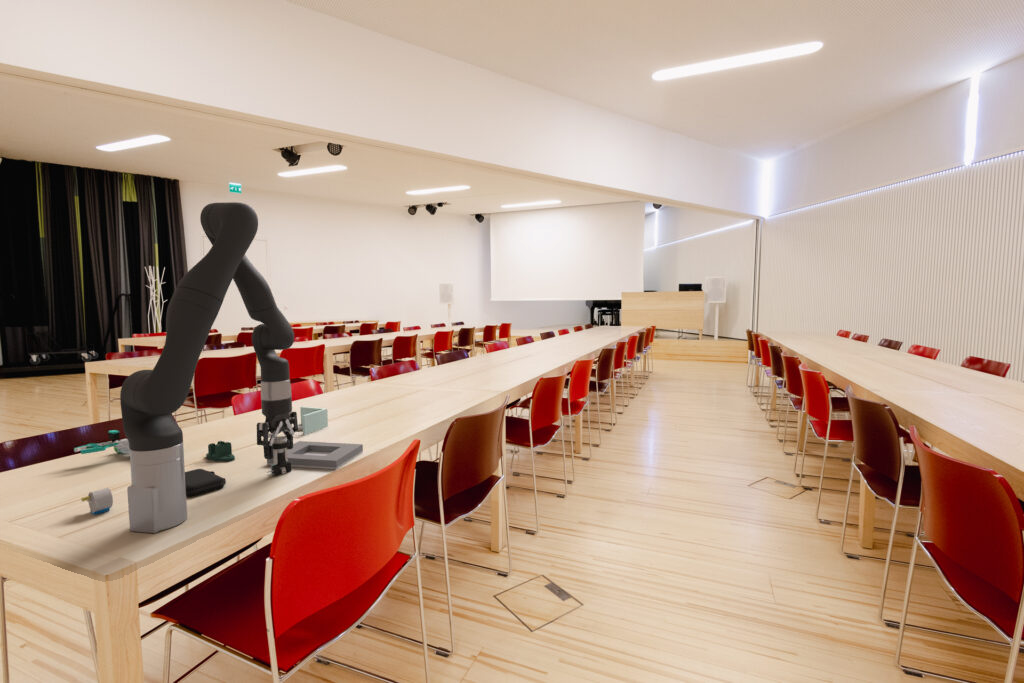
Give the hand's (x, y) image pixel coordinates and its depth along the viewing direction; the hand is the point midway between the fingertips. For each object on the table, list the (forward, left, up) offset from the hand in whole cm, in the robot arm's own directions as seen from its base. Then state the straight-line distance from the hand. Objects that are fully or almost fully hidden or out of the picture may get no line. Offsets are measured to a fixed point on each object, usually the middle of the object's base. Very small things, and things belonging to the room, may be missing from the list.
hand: (279, 453), depth 132 cm
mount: (+9, +26, -6) cm, 28 cm away
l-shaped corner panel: (+44, +21, -7) cm, 49 cm away
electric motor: (-29, +25, -6) cm, 39 cm away
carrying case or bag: (-12, +15, -6) cm, 20 cm away
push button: (0, 0, -6) cm, 6 cm away
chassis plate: (+14, -3, -6) cm, 15 cm away
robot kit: (+5, +54, -6) cm, 55 cm away
